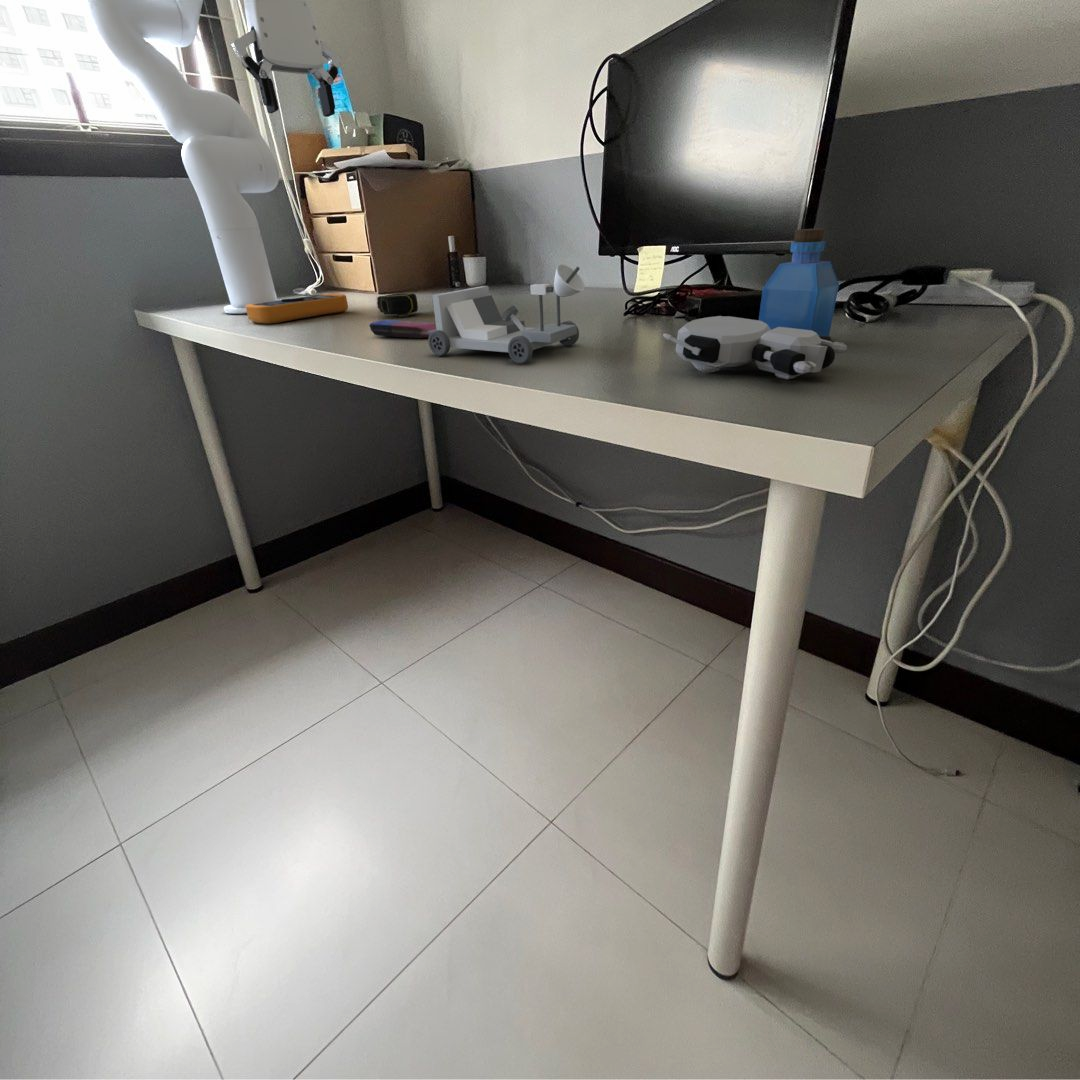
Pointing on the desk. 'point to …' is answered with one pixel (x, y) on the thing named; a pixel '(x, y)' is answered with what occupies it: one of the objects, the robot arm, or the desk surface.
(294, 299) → the multimeter
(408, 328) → the eraser
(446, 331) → the toy car
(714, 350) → the robot toy
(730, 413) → the desk surface
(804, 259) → the perfume bottle
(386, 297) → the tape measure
